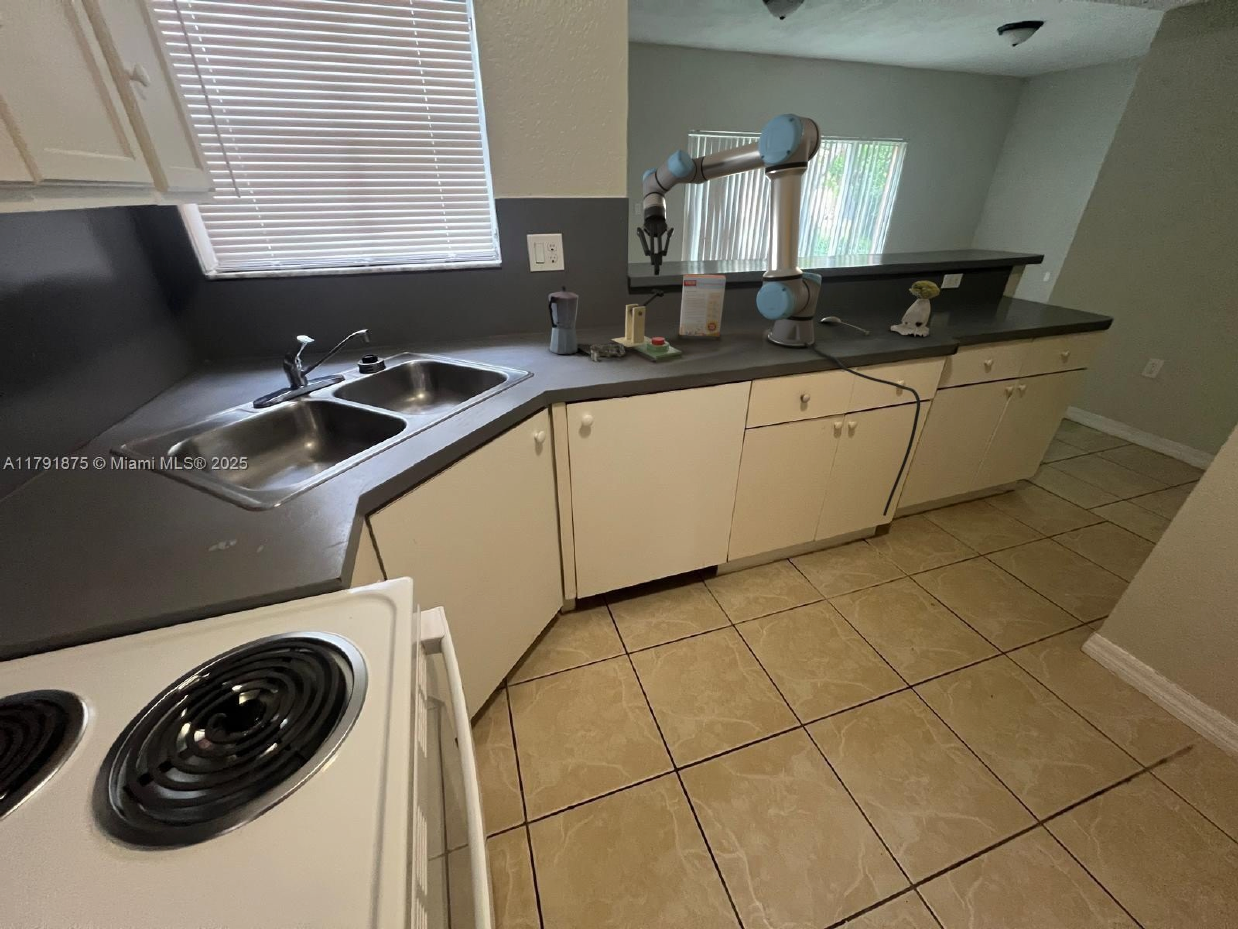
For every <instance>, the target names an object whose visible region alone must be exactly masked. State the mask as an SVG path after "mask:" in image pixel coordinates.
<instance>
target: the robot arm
mask: <svg viewBox="0 0 1238 929" xmlns="http://www.w3.org/2000/svg"><path fill="white" fill-rule="evenodd" d="M821 145H822V131H821V128H820V126H819V124H818V123H817V122H816V121H815V120H813V119H812V118H809V117H805V116H799V115H797V114H794V113H782V114H779V115H776V116H775V117H773V118H772V119H770V120H769V121H768V122H767V123H766V125H765V126H764V127H763V129H762V130H761V132H760V135H759V139H758V141H757V140H756V141H754V142H750V143H746V144H743V145H739V146H736V147H732V148H729V149H725V150H720V151H718V152H717V151H716V152H715V153H714V152H713V153H710V154H707V155H703V156H699V157H694V158H693V157H692V156H691V155H690V154H689V153H688V152H687V151H685V150H684V149H678V150H677V151H675V152H674V153H673V154H671V155H670V157H668V159H667V160H666V161H665V162H664V163H663V164H662V165H660V167H659V168H656V167H653V168H650V169H647V170H646V171H645V172H644V174H643V176H642V184H641V185H642V186H641V188H642V199H643V200H642V204H643V224H642V226H641V227H640V226H638V227H637V228H636V235H637V236H638V238H639V240H640V243H641V247H642V250H643V254H644V256H645V257H649V259H650V265H651V266H653V275H654V276H659V275H660V270H661V269H660V268H661V267H660V266H662V265H663V257H667V255H668V251H669V247H670V243H671V238H672V237H673V236H674V232H675V228H674V227H669V225H668V223H667V215H666V194H667V193H669V191H671V190H672V189H673V188H674V187H676V185H678V184H683V185H684V184H686V185H687V184H692V185H693V184H695V185H701V184H705V183H707V182H708V181H712V180H717V179H721V178H725V177H729V176H733V175H738V174H742V173H747V172H752V171H756V170H760V169H764V176H765V177H766V178H767V179H768V180H769V215H768V216H769V218H768V220H769V221H768V260H767V261H768V263H767V264H768V266H767V271H765V272H764V274H763V275H762V286H761V287H760V289H759V291H758V292H757V295H756V307H757V309H758V311H759V313H760V314H761V315H762V316H763V317H764V318H765V319H767V320H770V321H774V323H773V325H772V327H771V329H770V331H769V334H768V337H767V340H768V342H770V343H772V344H773V345H776V346H781V347H785V348H795V349H802V348H808V349H810V350H811V351H813V352H814V353H816V354H817V355H820V356H822V357H825V358H827V359H830V360H831V361H833V362H835V363H836V364H838V365H839V366H840V368H841V369H843V370H845V371H846V372H848V373H850V374H852V375H855V376H857V377H860V378H864V379H866V380H870V381H873V382H877V383H881V384H885V385H890V386H893V387H896V388H898V389H902V390H905V391H909V392H911V393H912V394H913V396H914V398H915V401H916V409H915V414H914V420H913V425H912V429H911V434H910V438H909V442H908V445H907V449H906V451H905V454H904V458H903V461H902V463H901V466H900V468H899V471H898V473H897V476H896V479H895V481H894V484H893V486H892V489H891V491H890V494H889V496H888V499H887V502H886V505H885V507H884V510H883V513H882V516H883V517H886V516H887V514H888V510H889V508H890V504H891V502H892V499H893V497H894V494H895V492H896V489H897V487H898V484H899V483H900V479H901V477H902V475H903V472H904V469H905V467H906V464H907V462H908V458H909V456H910V453H911V449H912V447H913V444H914V439H915V436H916V431H917V428H918V422H919V416H920V411H921V399H920V395H919V394H918V392H917V391H916V390H915V389H914V388H912V387H909V386H905V385H903V384H900V383H896V382H893V381H888V380H885V379H881V378H876V377H872V376H869V375H866V374H863V373H860V372H857V371H855V370H852V369H850V368H849V367H847V366H845V365H844V364H843V363H842V362H841V361H840V360H839V359H838V358H837V357H834V356H832V355H830V354H826V353H824V352H821V351H820V350H817V349H816V348H814V347H813V345H814V342H815V333H814V332H815V331H814V316H815V313H816V307H817V304H818V299H819V296H820V290H821V287H822V280H823V279H822V275H820V274H818V273H813V272H805V271H803V270H801V269H800V267H799V265H798V263H799V241H800V223H801V222H800V219H801V196H802V177H803V175H804V174H805V173H806V172H807V170H808V168H809V162H810V161H812V159H813V158H814V157H815V156H816V155H817V153H818V152H819V149H820V147H821ZM645 234H646V235H645ZM664 234H666V239H665V240H666V241H665V244H664V248H663V239H662V238H663V236H664ZM646 236H648V237H649V244H648V242H647V238H646ZM655 238H656V243H657V244H656V246H657V248H656V249H657V252H656V251H655Z"/></svg>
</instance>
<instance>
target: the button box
mask: <svg viewBox="0 0 1238 929" xmlns="http://www.w3.org/2000/svg"><path fill="white" fill-rule="evenodd" d="M633 349H635V350H636V351H638V352H641V353H642V354H645V355H647V356H649V357H651V358H653V359H655V360H651V362H652V363H654V364H658V363H665V362H668V361H669V362H670V361H674V360H678V359H682V354H683V351H682V350H680V349H678V348H675V347H672V346H671V345H670V342H668V341H666V340H664V345H653V344H652V340H651V341H648V342H647V344H643V345H637V346H633Z"/></svg>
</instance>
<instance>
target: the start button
mask: <svg viewBox="0 0 1238 929" xmlns="http://www.w3.org/2000/svg"><path fill="white" fill-rule="evenodd" d="M651 339H652V344H653V345H664V341H666V339H665V337H661V336H654V337H652V338H651Z"/></svg>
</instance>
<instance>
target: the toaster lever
mask: <svg viewBox="0 0 1238 929" xmlns="http://www.w3.org/2000/svg"><path fill="white" fill-rule="evenodd" d="M664 296H665V293H664V291H662V290H659V289H655V288H653V289H652V290H651V295H650V296H649V297H648V298H647V299H645V300H644V301H643V302H642V303H640V304H639V305H638V306H636V305H635V306H634V307H642V306H644V307H647V306H648V305H649V304H650V303H651V302H652V301H654V300H655V299H656V298H657V297H659V298H663V297H664ZM634 307H633V308H634ZM633 308H632V309H630V310H629V311H630V313H631V315H632V317H633Z"/></svg>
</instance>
